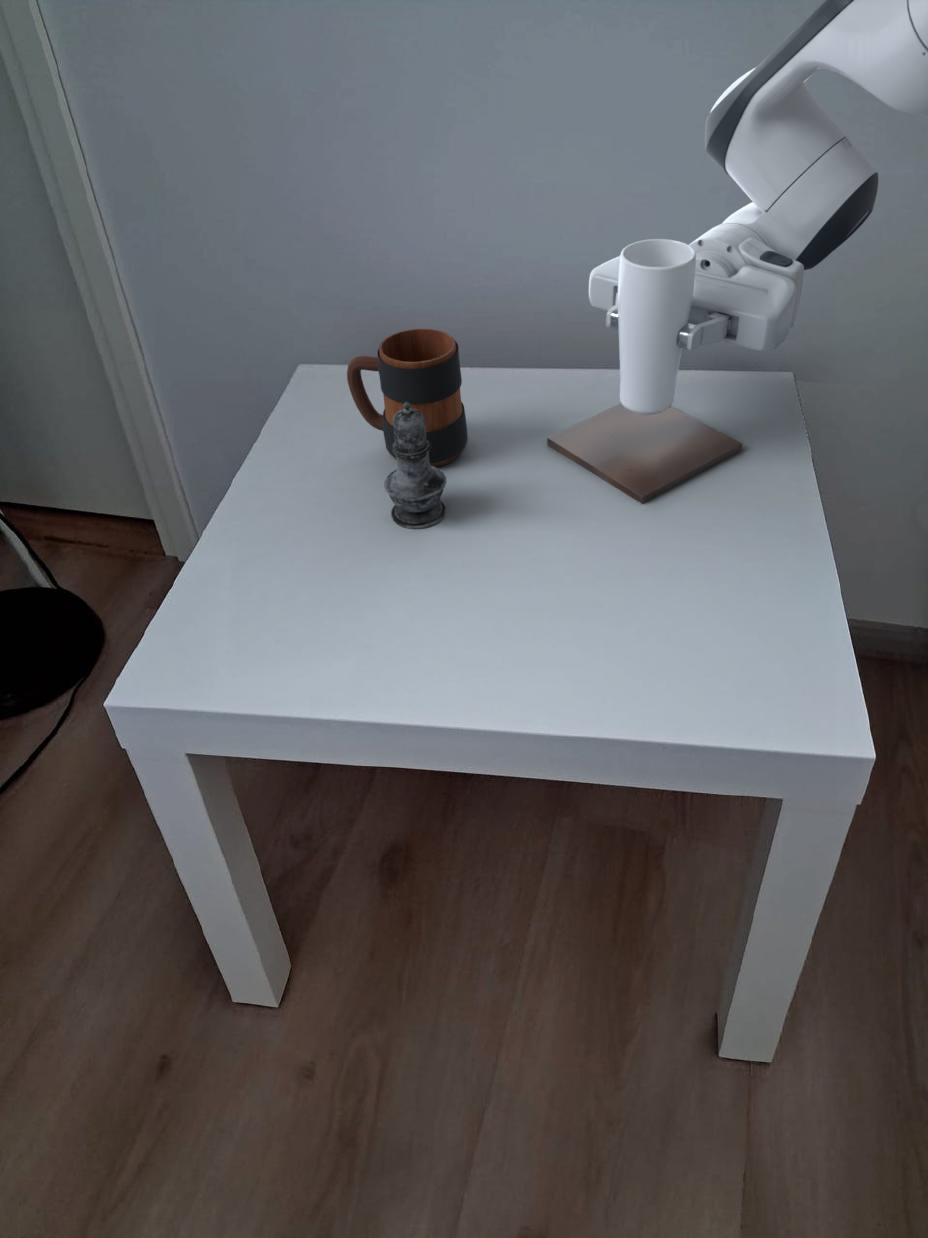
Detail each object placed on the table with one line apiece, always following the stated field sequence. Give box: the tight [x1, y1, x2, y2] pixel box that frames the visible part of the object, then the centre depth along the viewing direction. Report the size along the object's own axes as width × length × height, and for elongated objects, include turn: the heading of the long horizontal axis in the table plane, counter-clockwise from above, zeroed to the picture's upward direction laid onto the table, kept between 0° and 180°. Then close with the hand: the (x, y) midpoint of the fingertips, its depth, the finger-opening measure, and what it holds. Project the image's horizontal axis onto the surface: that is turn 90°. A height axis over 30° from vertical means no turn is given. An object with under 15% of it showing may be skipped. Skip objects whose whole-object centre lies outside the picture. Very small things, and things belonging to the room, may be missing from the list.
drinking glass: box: [618, 238, 696, 415], centre depth 88 cm, size 7×7×15 cm
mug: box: [346, 328, 469, 468], centre depth 95 cm, size 9×12×12 cm
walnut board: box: [546, 402, 744, 505], centre depth 96 cm, size 14×14×1 cm
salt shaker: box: [383, 402, 447, 530], centre depth 86 cm, size 6×6×12 cm
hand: (648, 331), depth 87 cm, fingers closed on drinking glass, 6 cm apart
